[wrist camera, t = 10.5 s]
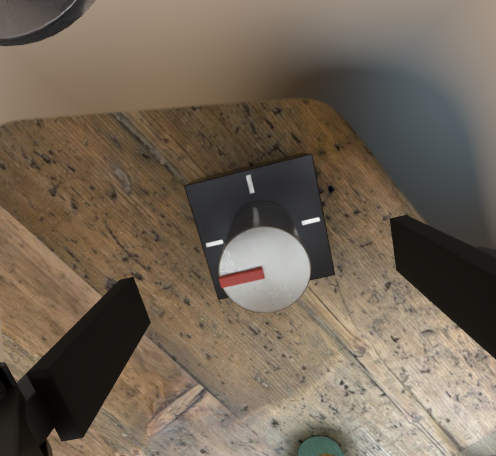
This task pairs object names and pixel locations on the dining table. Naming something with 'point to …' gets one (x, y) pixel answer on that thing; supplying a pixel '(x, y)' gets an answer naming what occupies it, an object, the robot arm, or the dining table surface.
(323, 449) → the cupcake
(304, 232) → the hob panel
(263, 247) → the hob knob
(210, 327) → the dining table surface
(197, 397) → the dining table surface
